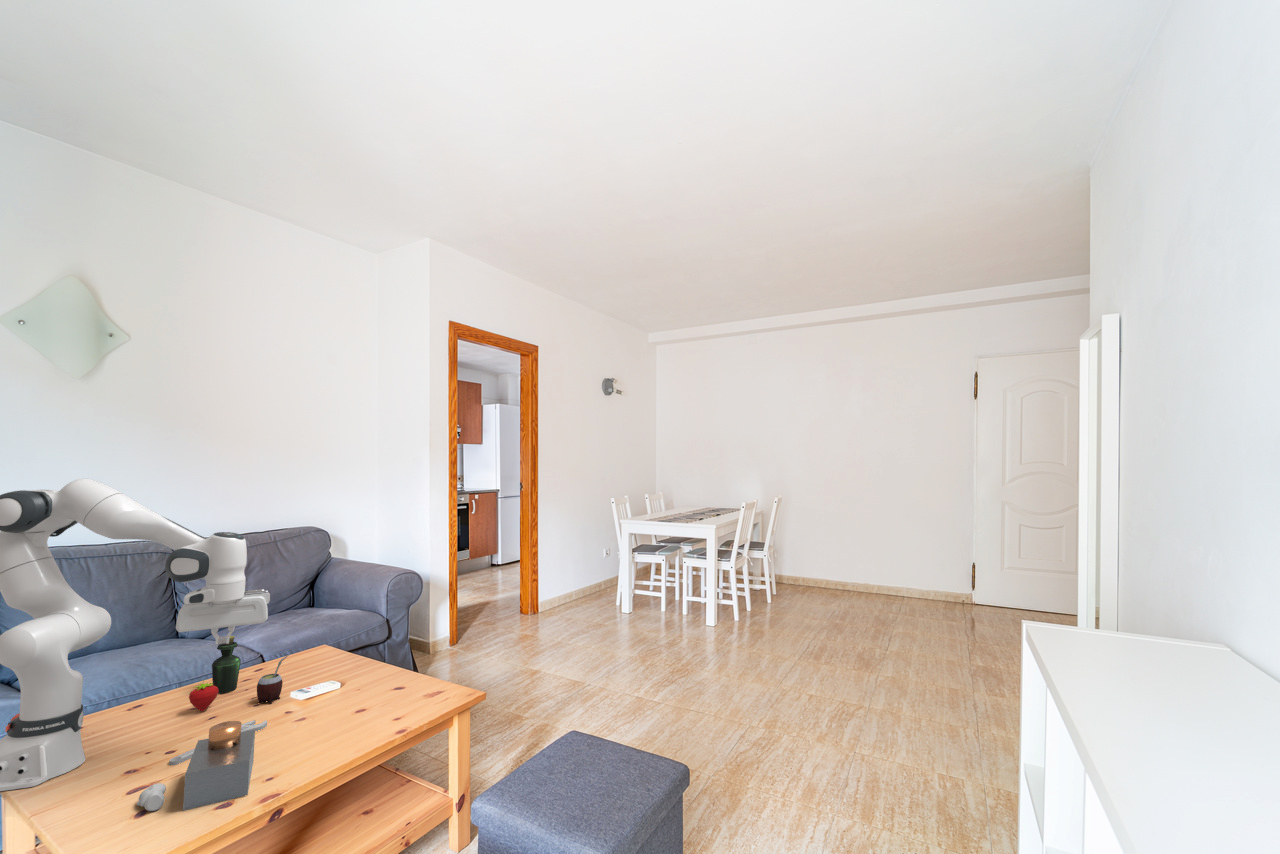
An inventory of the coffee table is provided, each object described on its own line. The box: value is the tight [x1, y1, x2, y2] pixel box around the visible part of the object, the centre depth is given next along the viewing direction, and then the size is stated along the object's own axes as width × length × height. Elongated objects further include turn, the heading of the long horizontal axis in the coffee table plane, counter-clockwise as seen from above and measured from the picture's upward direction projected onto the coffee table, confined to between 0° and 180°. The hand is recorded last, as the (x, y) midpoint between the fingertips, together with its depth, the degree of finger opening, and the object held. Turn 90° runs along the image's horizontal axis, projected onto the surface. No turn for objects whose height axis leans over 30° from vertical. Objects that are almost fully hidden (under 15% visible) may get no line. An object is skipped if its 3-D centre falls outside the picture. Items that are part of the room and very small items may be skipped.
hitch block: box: [182, 730, 256, 812], centre depth 138 cm, size 12×18×8 cm, turn 31°
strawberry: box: [188, 681, 219, 712], centre depth 178 cm, size 6×8×10 cm
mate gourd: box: [256, 654, 290, 705], centre depth 187 cm, size 8×8×15 cm
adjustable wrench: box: [168, 719, 268, 766], centre depth 158 cm, size 25×6×2 cm, turn 156°
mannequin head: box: [136, 782, 167, 812], centre depth 129 cm, size 4×8×5 cm
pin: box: [207, 720, 242, 750], centre depth 142 cm, size 7×7×11 cm
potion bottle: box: [211, 635, 242, 695], centre depth 195 cm, size 8×8×18 cm
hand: (222, 643), depth 154 cm, fingers closed
